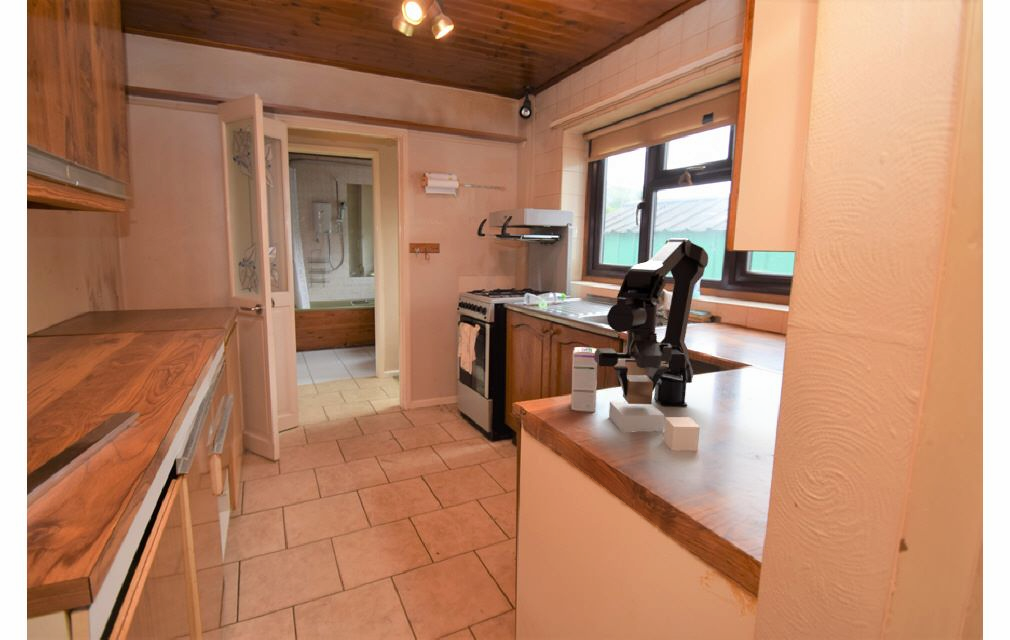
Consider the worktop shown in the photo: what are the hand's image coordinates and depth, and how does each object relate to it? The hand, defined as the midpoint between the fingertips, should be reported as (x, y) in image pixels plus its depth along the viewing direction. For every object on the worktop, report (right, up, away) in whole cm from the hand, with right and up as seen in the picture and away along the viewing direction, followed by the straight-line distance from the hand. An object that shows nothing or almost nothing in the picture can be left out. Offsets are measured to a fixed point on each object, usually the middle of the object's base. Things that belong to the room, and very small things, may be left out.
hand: (637, 395), depth 103 cm
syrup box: (-10, -5, +11) cm, 16 cm away
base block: (0, -7, +1) cm, 7 cm away
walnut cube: (0, -1, 0) cm, 1 cm away
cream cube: (+6, -8, -10) cm, 14 cm away
